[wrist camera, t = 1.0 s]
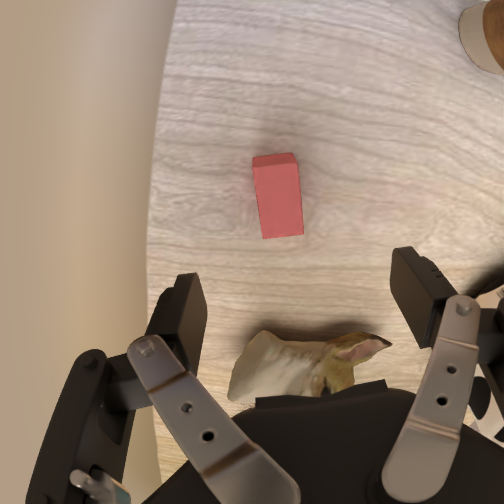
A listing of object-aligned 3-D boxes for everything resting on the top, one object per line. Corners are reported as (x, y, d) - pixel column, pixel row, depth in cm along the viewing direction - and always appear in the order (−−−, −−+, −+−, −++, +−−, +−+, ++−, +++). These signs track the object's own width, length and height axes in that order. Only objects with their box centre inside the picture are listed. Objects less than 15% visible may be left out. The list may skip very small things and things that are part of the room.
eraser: (252, 157, 22) (252, 167, 19) (292, 152, 21) (297, 162, 19) (262, 221, 24) (262, 239, 21) (298, 217, 24) (304, 234, 21)
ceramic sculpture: (244, 377, 20) (417, 385, 22) (241, 296, 27) (385, 319, 30) (215, 441, 25) (358, 443, 27) (217, 370, 32) (341, 382, 35)
